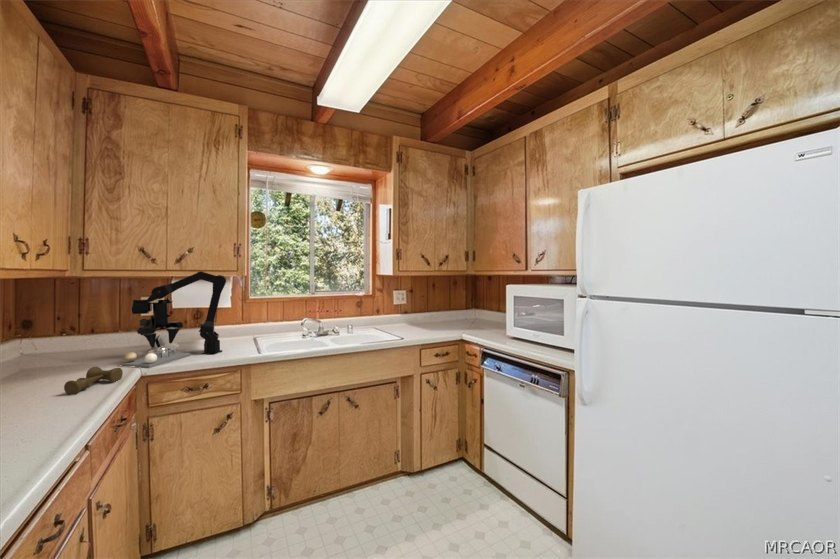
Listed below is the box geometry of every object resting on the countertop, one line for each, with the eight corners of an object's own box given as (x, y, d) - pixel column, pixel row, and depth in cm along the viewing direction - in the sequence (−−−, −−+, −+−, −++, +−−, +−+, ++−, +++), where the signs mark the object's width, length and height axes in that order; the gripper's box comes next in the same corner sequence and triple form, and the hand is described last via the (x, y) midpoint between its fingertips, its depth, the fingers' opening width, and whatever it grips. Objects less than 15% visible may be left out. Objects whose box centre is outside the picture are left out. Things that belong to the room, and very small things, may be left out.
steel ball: (170, 354, 168) (170, 345, 168) (161, 356, 164) (161, 347, 164) (162, 354, 169) (162, 345, 169) (154, 356, 165) (154, 346, 165)
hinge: (169, 353, 175) (160, 335, 174) (158, 357, 174) (150, 339, 172) (179, 346, 191) (171, 329, 189) (169, 349, 189) (161, 333, 188)
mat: (190, 355, 170) (190, 353, 170) (149, 368, 150) (149, 365, 150) (163, 354, 173) (163, 351, 173) (119, 366, 153) (119, 363, 153)
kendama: (55, 396, 119) (106, 376, 139) (84, 397, 119) (131, 377, 139) (55, 379, 118) (106, 361, 138) (84, 380, 119) (131, 362, 139)
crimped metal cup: (180, 353, 170) (180, 348, 170) (161, 358, 160) (160, 353, 160) (163, 352, 172) (163, 347, 172) (142, 357, 162) (142, 352, 162)
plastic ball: (159, 362, 155) (159, 352, 155) (150, 364, 150) (150, 354, 150) (151, 361, 156) (151, 351, 155) (142, 364, 151) (141, 354, 151)
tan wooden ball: (139, 360, 157) (139, 351, 157) (129, 363, 153) (129, 353, 152) (131, 360, 158) (131, 350, 158) (121, 363, 154) (121, 353, 153)
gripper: (164, 310, 176) (165, 340, 177) (126, 315, 158) (128, 349, 159) (183, 310, 174) (184, 341, 175) (147, 315, 156) (148, 350, 156)
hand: (161, 345), depth 166 cm, fingers open, 9 cm apart
